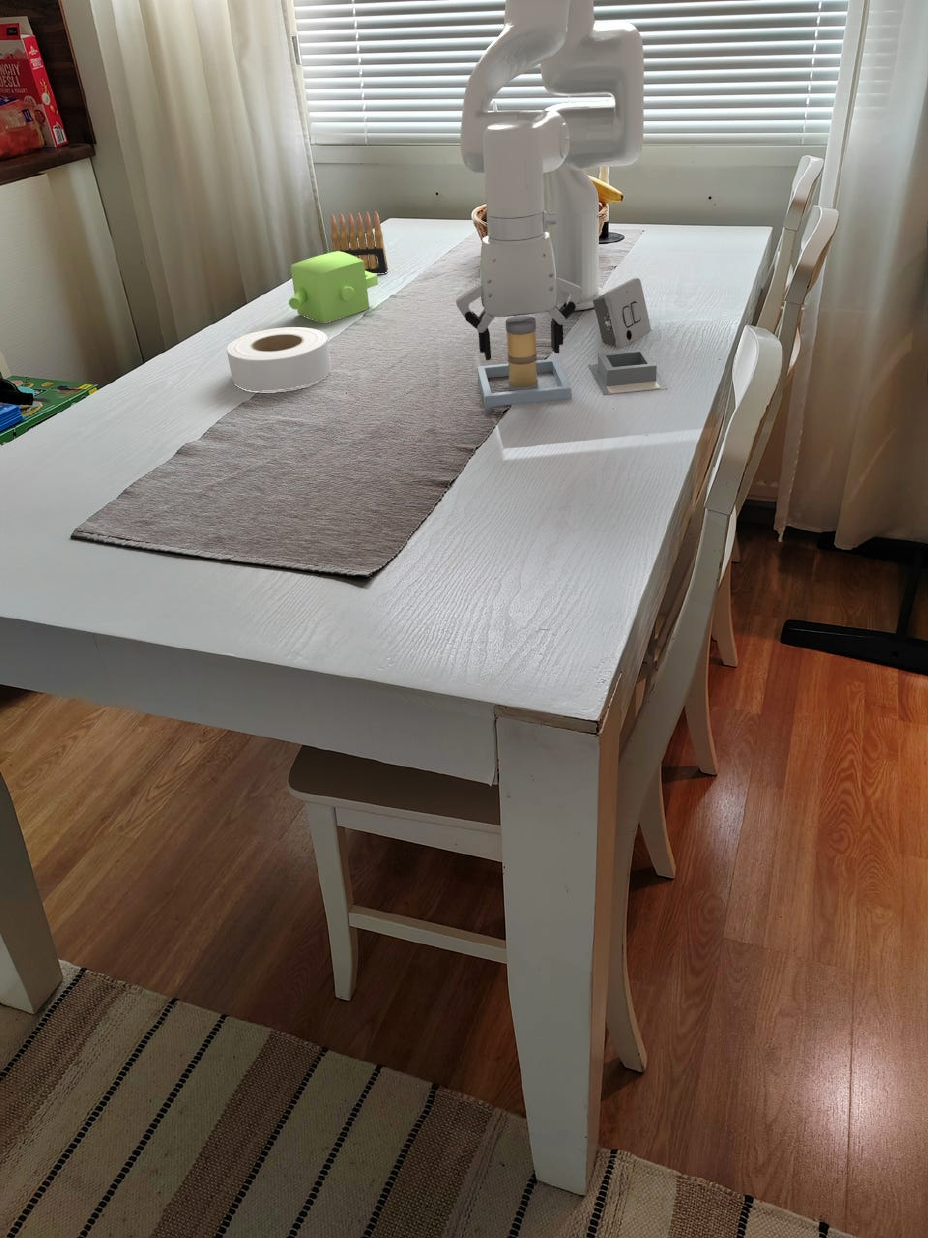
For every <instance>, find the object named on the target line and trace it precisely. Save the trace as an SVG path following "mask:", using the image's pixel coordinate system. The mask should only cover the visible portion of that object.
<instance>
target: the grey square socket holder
mask: <svg viewBox="0 0 928 1238" xmlns="http://www.w3.org/2000/svg"><path fill="white" fill-rule="evenodd" d="M587 366H588V368H589V370H590V372H591V375H592V376H593V379H594V380H595V381H596V383H597V386H598V388H599V389H600V391H601V393H602V395H603V396H608V395H609V396H610V395H619V394H627V393H629V394H630V393H640V392H647V391H648V392H650V391H659V390H667V389H668V387H667V385H666V384H665V383H664V381H663V380H662V378H661V377H660V375H659V373H658V372H657V366H658V365H657V364H656V362H655V361H654V360H653V358H652V357H651V355H650V353H649V352H648V351H647V350H646V348H642V349H632V350H630V349H629V350H622V351H612V352H599V353H597V363H596V364H587Z"/></svg>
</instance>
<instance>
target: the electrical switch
mask: <svg viewBox="0 0 928 1238" xmlns="http://www.w3.org/2000/svg"><path fill="white" fill-rule="evenodd" d="M593 304H594V307H593V309H594V310H595V311H594V313H595V316H596V319H597V324H598V329H599V332H600V333H599V334H600V337H601V341H602V343H604V344H610V345H614V346H615V347H616V348H621V349H622V348H624V347H626V346H628V345H630V344H631V343H633V342H634V341H636V340H638V339H639V338H641V337H643V336H644V335H646V334H648V333H649V332H651V331H652V327H651V322H650V318H649V313H648V309H647V304H646V300H645V295H644V290H643V286H642V281H641V279H640V278H639V277H634V278H632V279H629V280H628V281H626V282H623V283H622V284H620V285H618V286H615V287H614V288H612V289H609V290H608V291H607V292H606V293H605V294H604V295H602V296H600V297H598V298H596V299H594V300H593Z"/></svg>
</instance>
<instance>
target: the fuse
mask: <svg viewBox="0 0 928 1238" xmlns="http://www.w3.org/2000/svg"><path fill="white" fill-rule="evenodd" d="M536 330H537V319H536V317H533V316H530V315H519V316H510V317H509V318H507V319H506V320H505V331H506V338H507V339H506V344H507V348H506V349H507V363H508V368H509V376H508V390H509V391H518V390H528V389H538V388H539V380H538V373H537V361H536V360H537V359H538V355H537V340H536V338H537V337H536Z"/></svg>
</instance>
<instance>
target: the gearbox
mask: <svg viewBox="0 0 928 1238" xmlns="http://www.w3.org/2000/svg"><path fill="white" fill-rule="evenodd" d="M289 268H290V274H291V280H292V287H293V293H294V294H293V296H291V298H290V299H289V301H288V305H289V307H290V308H291V309H292V310H296V311H297V314H298V315H300V316H301V315H302V316H301V317H303V316H305V317H308V318H310V319H309V320H311V319H313V320H316V321H315V322H317V321H318V322H317V323H320V322H321V324H323V323H324V324H326V323H325V322H328V323H330V322H329V321H331V322H334V321H333V320H335V321H337V320H336V319H338V320H340V319H339V318H341V319H344V318H346V316H347V317H350V316H353V315H355V314H358V313H361V312H363V311H367V310H368V309H370V301H369V292H368V289H371V288H373V287H375V286H378V285H379V278H378V275H376V274H373V273H370V272H368V271H365V267H364V261H363V260H361V259H359V258H357V257H355V256H352V255H350V254H347V253H344V252H340V251H336V252H333V251H332V252H327V253H324V254H320V255H316V256H313V257H310V258H307V259H304V260H301V261H298V262H295V263H292V264H290V267H289ZM305 317H304V318H305ZM343 317H344V318H343ZM308 318H307V319H308ZM313 320H312V321H313Z"/></svg>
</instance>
